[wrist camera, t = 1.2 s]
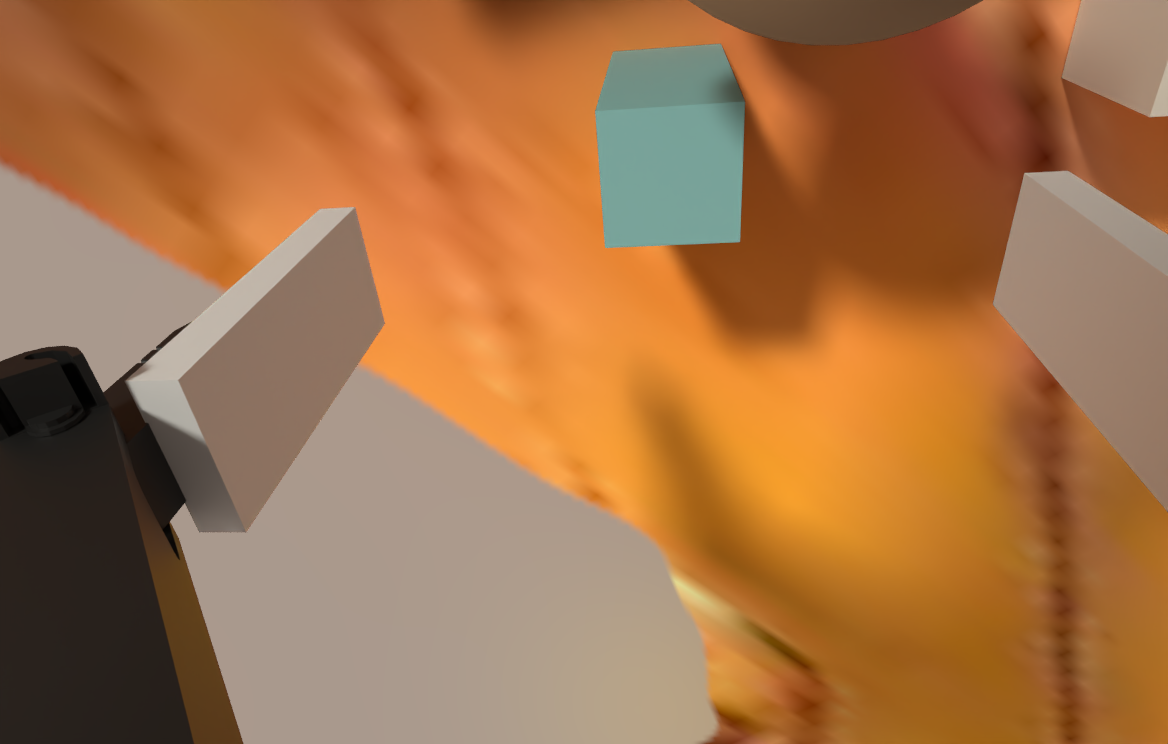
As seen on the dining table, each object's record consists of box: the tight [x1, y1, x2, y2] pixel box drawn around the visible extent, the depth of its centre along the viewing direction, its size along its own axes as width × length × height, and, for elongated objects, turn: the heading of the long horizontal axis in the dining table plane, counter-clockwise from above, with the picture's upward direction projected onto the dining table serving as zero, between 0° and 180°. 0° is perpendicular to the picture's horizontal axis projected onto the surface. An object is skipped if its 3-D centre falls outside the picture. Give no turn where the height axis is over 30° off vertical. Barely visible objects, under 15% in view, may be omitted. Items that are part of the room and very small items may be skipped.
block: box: [595, 44, 745, 248], centre depth 21 cm, size 4×4×8 cm
